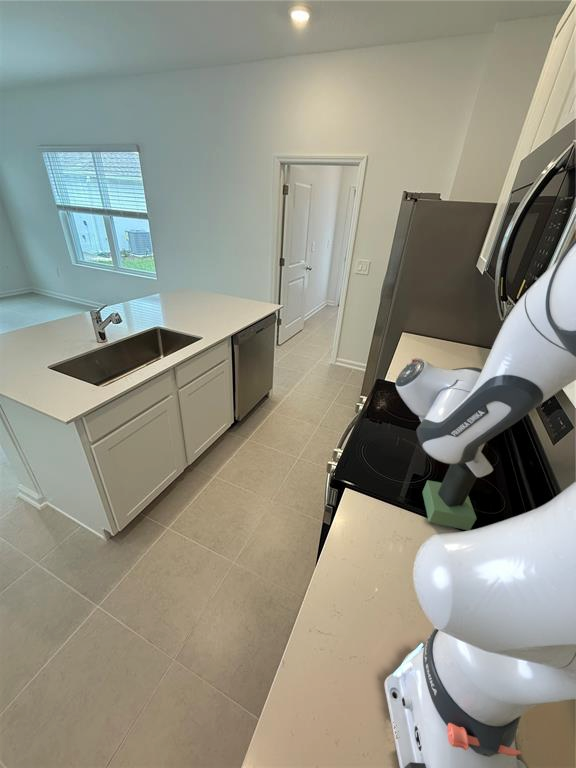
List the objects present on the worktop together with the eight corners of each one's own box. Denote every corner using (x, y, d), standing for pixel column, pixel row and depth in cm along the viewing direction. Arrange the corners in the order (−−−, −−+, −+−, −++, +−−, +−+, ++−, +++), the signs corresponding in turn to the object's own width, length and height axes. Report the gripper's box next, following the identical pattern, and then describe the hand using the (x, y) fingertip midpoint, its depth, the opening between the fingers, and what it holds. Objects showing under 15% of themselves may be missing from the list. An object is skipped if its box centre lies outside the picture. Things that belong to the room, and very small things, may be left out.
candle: (447, 507, 78) (485, 430, 65) (435, 491, 82) (468, 416, 69) (465, 505, 79) (505, 428, 66) (452, 489, 83) (488, 414, 70)
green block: (469, 530, 78) (476, 518, 76) (428, 522, 80) (434, 510, 77) (459, 499, 87) (465, 487, 84) (422, 492, 88) (427, 480, 86)
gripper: (484, 444, 58) (513, 483, 63) (440, 388, 75) (466, 422, 80) (452, 460, 60) (483, 496, 65) (417, 402, 78) (444, 434, 83)
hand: (473, 455), depth 73 cm, fingers open, 8 cm apart
